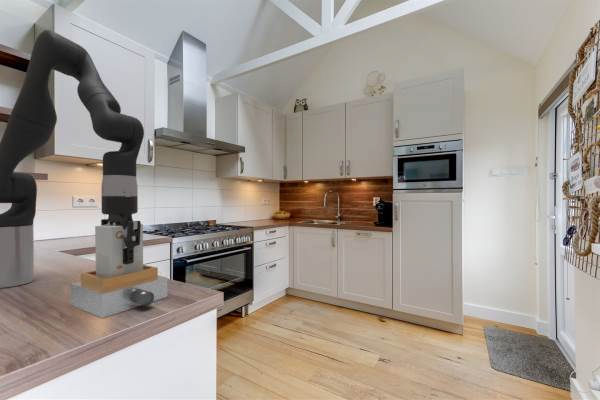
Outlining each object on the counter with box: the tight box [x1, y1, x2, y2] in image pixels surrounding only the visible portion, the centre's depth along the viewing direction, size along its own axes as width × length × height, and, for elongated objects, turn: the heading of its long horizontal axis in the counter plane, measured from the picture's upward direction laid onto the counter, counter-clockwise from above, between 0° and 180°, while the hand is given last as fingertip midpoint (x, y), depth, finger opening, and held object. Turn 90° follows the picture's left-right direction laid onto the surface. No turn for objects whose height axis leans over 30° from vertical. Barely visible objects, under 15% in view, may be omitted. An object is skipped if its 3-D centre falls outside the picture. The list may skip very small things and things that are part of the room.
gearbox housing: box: [70, 264, 168, 319], centre depth 69 cm, size 19×15×8 cm
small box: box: [94, 223, 144, 278], centre depth 70 cm, size 8×6×13 cm
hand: (120, 261), depth 70 cm, fingers closed on small box, 6 cm apart
